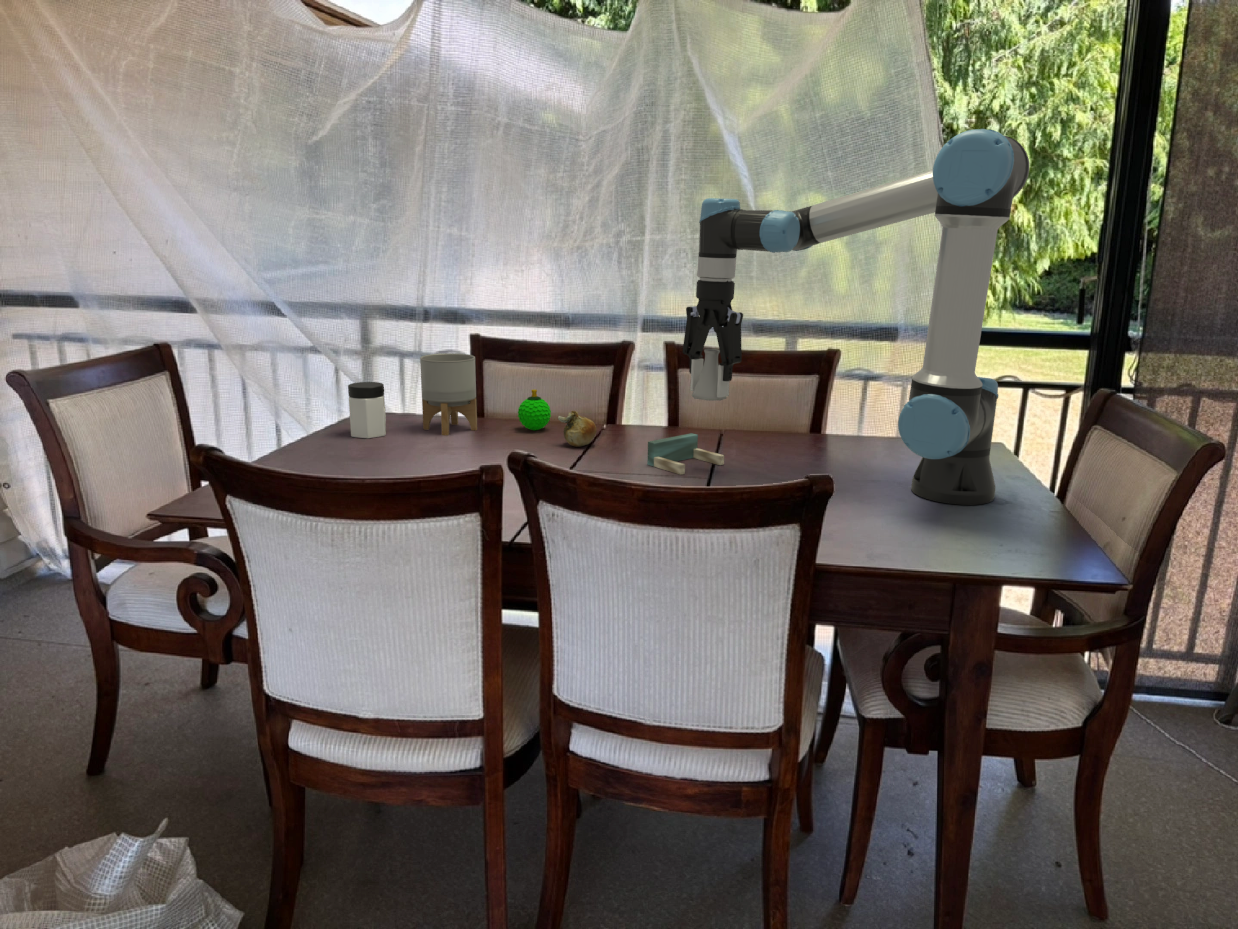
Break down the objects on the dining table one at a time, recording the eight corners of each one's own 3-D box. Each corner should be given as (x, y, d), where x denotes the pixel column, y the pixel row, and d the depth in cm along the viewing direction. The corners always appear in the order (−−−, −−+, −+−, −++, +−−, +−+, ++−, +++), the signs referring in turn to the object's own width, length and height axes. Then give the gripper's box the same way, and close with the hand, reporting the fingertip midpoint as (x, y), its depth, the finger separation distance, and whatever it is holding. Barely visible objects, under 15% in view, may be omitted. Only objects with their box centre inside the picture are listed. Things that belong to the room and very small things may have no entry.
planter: (472, 436, 213) (469, 361, 209) (417, 435, 213) (414, 360, 209) (481, 424, 226) (479, 353, 221) (429, 423, 226) (426, 352, 221)
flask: (724, 403, 180) (728, 353, 177) (689, 400, 181) (691, 351, 179) (728, 396, 187) (731, 348, 184) (693, 393, 188) (696, 346, 185)
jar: (386, 438, 210) (383, 387, 207) (349, 439, 208) (346, 388, 205) (387, 429, 218) (384, 380, 215) (352, 430, 217) (349, 381, 213)
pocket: (723, 464, 191) (725, 441, 190) (680, 474, 183) (681, 451, 182) (690, 455, 199) (691, 433, 197) (647, 464, 190) (647, 441, 189)
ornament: (522, 425, 225) (522, 386, 222) (554, 427, 224) (554, 387, 221) (514, 433, 217) (513, 392, 214) (547, 434, 216) (546, 393, 213)
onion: (577, 451, 200) (577, 416, 198) (555, 444, 206) (555, 410, 204) (603, 446, 205) (603, 412, 203) (581, 440, 211) (581, 406, 209)
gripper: (766, 282, 173) (757, 399, 179) (694, 275, 187) (688, 383, 193) (740, 283, 168) (732, 404, 174) (667, 276, 182) (662, 387, 189)
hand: (709, 393), depth 184 cm, fingers closed on flask, 7 cm apart
